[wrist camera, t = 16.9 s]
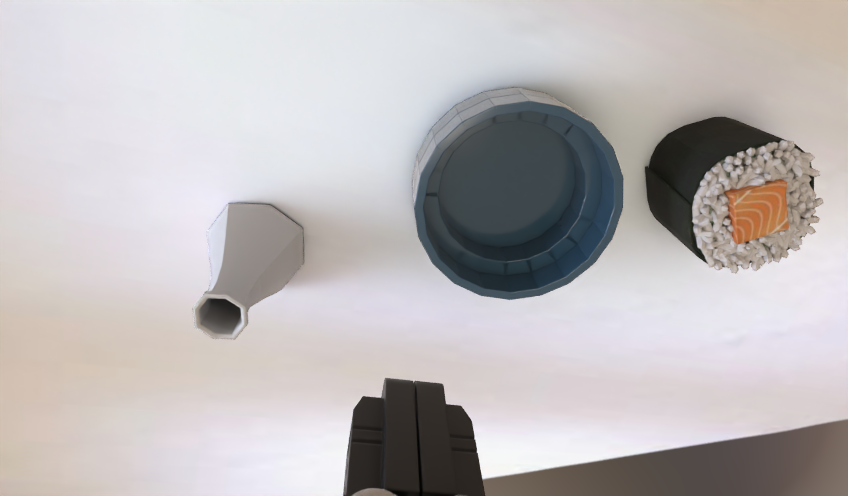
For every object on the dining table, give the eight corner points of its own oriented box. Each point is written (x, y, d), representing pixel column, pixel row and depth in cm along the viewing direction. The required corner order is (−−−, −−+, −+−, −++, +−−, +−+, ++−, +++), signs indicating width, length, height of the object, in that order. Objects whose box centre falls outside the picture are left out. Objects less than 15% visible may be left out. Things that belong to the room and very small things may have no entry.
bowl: (431, 70, 38) (437, 83, 33) (620, 105, 40) (652, 123, 35) (398, 249, 43) (399, 284, 38) (566, 274, 45) (587, 310, 40)
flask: (319, 220, 42) (298, 285, 33) (290, 301, 45) (263, 382, 36) (220, 185, 41) (170, 244, 32) (196, 271, 43) (144, 348, 34)
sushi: (653, 241, 44) (704, 291, 37) (637, 138, 41) (690, 172, 33) (759, 209, 43) (833, 255, 36) (752, 102, 40) (831, 129, 33)
